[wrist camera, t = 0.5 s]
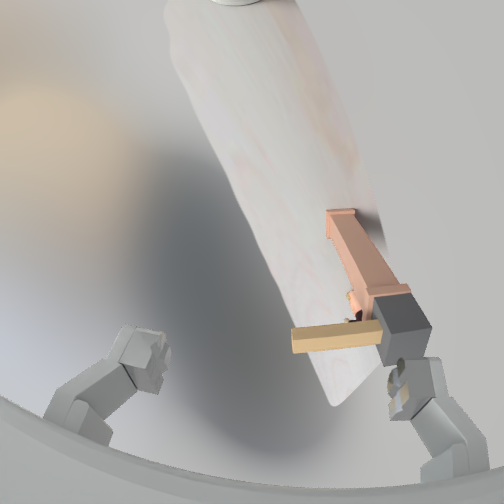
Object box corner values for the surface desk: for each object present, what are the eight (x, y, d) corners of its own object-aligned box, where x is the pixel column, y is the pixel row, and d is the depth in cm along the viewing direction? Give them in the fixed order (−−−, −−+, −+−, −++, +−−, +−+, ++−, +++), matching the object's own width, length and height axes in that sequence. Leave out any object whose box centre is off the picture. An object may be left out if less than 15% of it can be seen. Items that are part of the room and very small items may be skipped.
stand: (325, 210, 55) (368, 295, 32) (353, 208, 55) (411, 290, 32) (326, 236, 57) (364, 331, 34) (352, 234, 57) (403, 325, 34)
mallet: (289, 305, 33) (293, 345, 27) (410, 292, 32) (432, 327, 26) (290, 337, 35) (294, 377, 29) (404, 324, 34) (422, 359, 28)
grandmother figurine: (364, 277, 61) (383, 317, 50) (374, 289, 62) (393, 328, 51) (334, 300, 64) (347, 342, 52) (344, 310, 65) (358, 352, 54)
